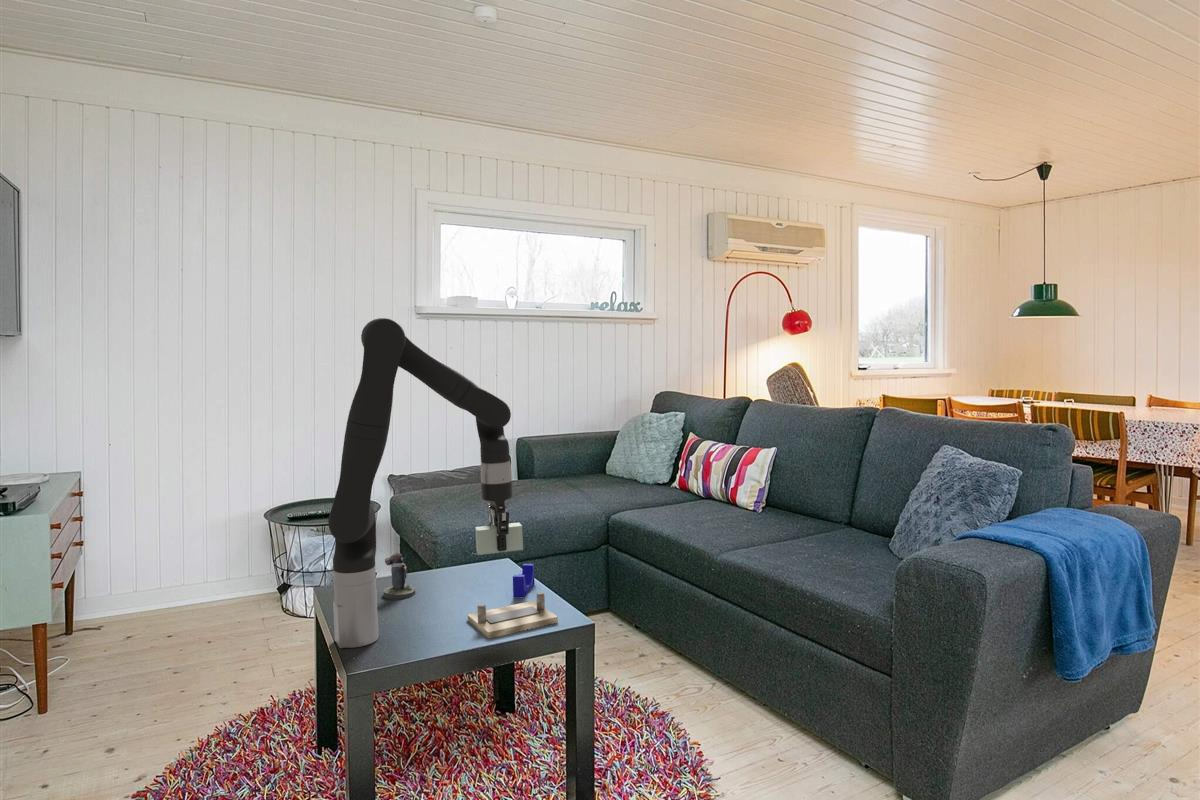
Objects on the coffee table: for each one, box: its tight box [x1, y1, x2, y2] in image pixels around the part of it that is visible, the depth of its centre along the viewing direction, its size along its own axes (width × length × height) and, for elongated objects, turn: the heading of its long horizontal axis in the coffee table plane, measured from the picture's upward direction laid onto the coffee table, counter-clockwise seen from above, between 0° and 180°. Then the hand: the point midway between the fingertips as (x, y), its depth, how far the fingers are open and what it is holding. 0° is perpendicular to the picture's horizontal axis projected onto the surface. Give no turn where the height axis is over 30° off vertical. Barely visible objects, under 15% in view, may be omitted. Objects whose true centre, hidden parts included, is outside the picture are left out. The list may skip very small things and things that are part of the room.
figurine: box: [383, 552, 416, 600], centre depth 200 cm, size 8×8×12 cm
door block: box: [474, 522, 524, 556], centre depth 178 cm, size 11×4×6 cm, turn 106°
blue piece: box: [512, 563, 535, 598], centre depth 201 cm, size 12×4×6 cm, turn 172°
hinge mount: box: [467, 592, 559, 639], centre depth 177 cm, size 18×14×6 cm
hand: (499, 547), depth 179 cm, fingers closed on door block, 4 cm apart
